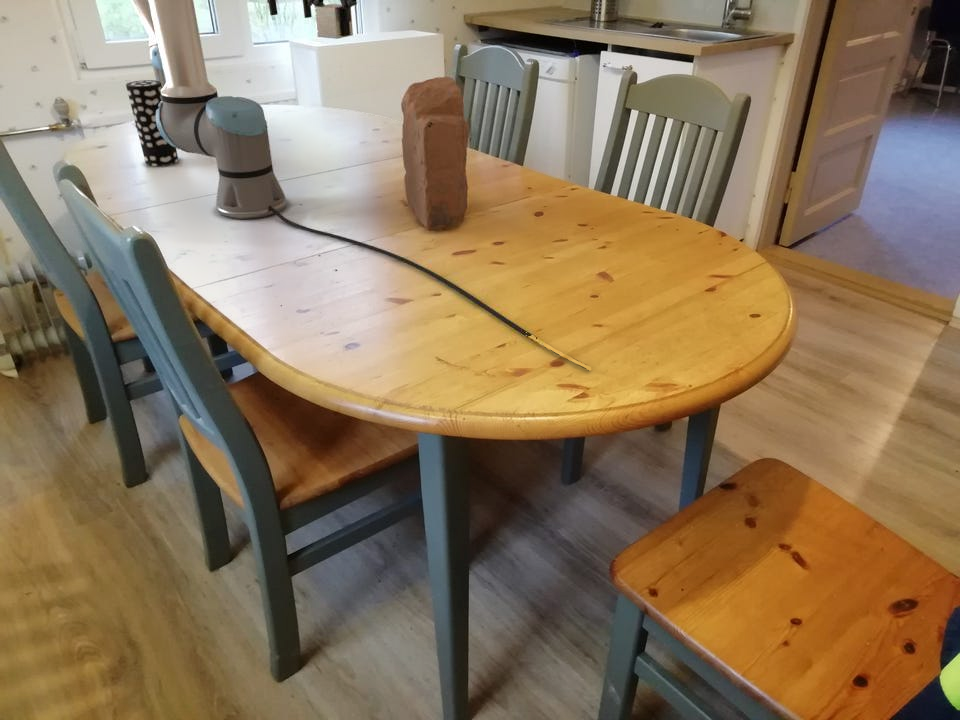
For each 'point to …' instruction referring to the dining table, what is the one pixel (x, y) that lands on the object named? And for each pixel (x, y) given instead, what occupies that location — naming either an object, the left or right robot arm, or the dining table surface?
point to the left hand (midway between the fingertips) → (291, 16)
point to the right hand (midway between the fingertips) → (335, 34)
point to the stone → (435, 152)
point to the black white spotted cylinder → (150, 122)
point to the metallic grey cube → (330, 21)
